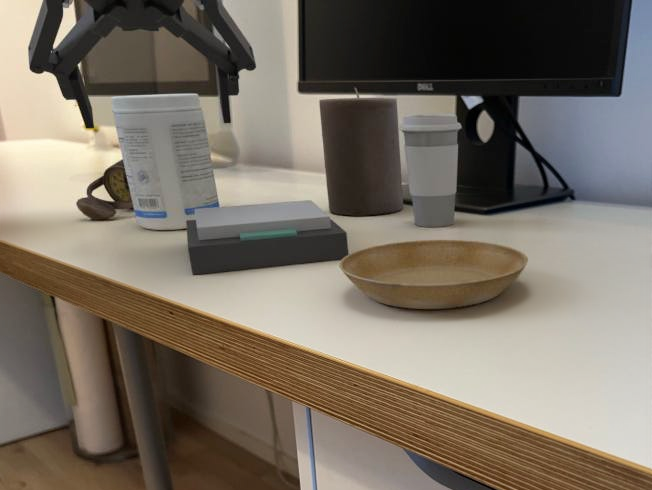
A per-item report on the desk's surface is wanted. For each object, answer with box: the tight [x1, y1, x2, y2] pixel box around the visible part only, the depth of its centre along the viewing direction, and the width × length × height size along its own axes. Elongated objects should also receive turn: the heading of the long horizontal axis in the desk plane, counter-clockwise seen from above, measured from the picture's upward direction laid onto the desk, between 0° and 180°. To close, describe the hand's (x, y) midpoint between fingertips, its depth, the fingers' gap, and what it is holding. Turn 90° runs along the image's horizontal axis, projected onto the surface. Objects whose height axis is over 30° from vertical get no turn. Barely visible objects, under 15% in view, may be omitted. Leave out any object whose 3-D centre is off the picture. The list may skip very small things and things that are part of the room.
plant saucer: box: [338, 239, 529, 310], centre depth 55 cm, size 15×15×3 cm
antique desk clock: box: [75, 158, 134, 220], centre depth 92 cm, size 7×13×10 cm
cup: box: [398, 113, 463, 228], centre depth 80 cm, size 7×7×12 cm
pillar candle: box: [318, 87, 404, 217], centre depth 89 cm, size 10×10×15 cm
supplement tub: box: [110, 93, 220, 231], centre depth 82 cm, size 10×10×15 cm
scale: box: [186, 199, 350, 276], centre depth 69 cm, size 14×14×4 cm
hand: (159, 116), depth 75 cm, fingers open, 13 cm apart
